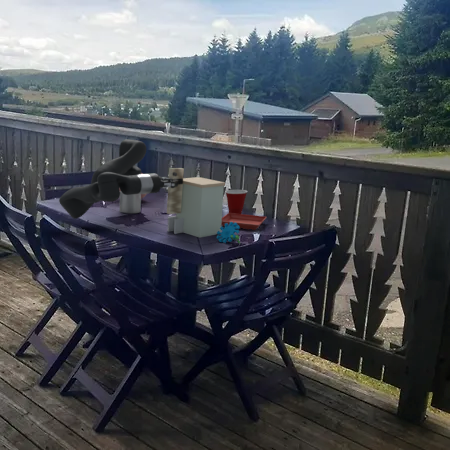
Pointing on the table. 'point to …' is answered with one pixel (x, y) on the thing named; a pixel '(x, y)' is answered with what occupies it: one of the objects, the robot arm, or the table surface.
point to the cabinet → (199, 208)
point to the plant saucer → (243, 220)
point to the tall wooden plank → (175, 192)
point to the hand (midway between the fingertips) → (180, 180)
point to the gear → (229, 233)
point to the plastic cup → (235, 200)
